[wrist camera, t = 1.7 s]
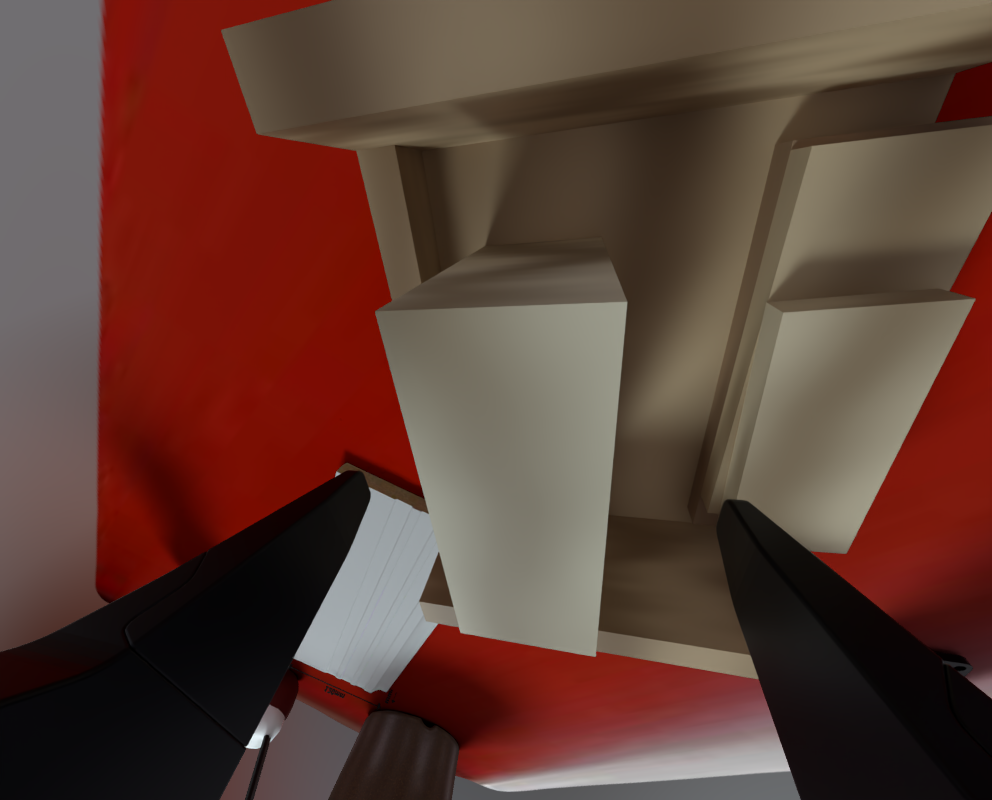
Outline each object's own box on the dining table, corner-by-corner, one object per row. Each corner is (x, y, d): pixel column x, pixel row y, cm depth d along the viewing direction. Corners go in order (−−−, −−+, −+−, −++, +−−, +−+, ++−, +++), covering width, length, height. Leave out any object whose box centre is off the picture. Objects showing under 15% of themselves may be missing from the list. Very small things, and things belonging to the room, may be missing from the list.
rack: (960, -1, 8) (1663, -354, 3) (750, 536, 18) (825, 690, 12) (388, 103, 12) (220, 30, 6) (466, 509, 21) (425, 621, 16)
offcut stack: (970, 120, 9) (1126, 93, 6) (791, 515, 16) (831, 578, 13) (773, 145, 10) (840, 129, 7) (686, 507, 17) (705, 563, 14)
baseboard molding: (524, 537, 22) (350, 454, 22) (516, 580, 20) (321, 488, 19) (402, 687, 39) (302, 642, 39) (390, 720, 37) (283, 673, 36)
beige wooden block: (601, 236, 12) (627, 301, 5) (590, 468, 17) (595, 656, 10) (484, 245, 13) (375, 311, 6) (507, 462, 18) (460, 632, 11)
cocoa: (250, 659, 44) (147, 796, 34) (257, 646, 41) (145, 794, 31) (315, 697, 45) (233, 841, 35) (328, 687, 42) (241, 844, 32)
